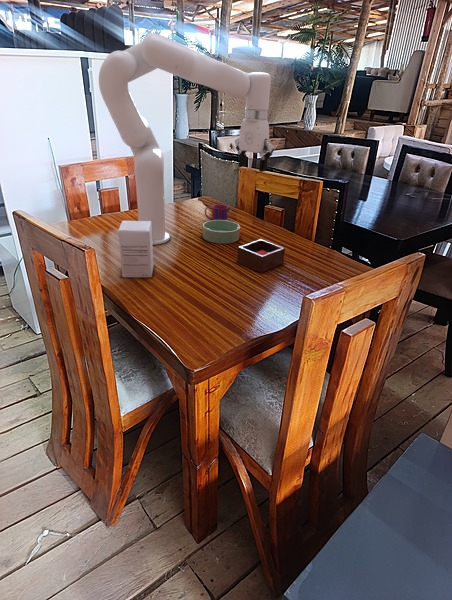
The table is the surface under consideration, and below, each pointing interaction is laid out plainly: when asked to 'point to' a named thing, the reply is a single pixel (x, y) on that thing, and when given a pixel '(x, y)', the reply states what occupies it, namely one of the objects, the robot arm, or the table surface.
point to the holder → (260, 261)
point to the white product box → (136, 248)
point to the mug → (219, 212)
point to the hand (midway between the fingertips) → (252, 168)
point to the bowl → (221, 231)
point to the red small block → (262, 252)
